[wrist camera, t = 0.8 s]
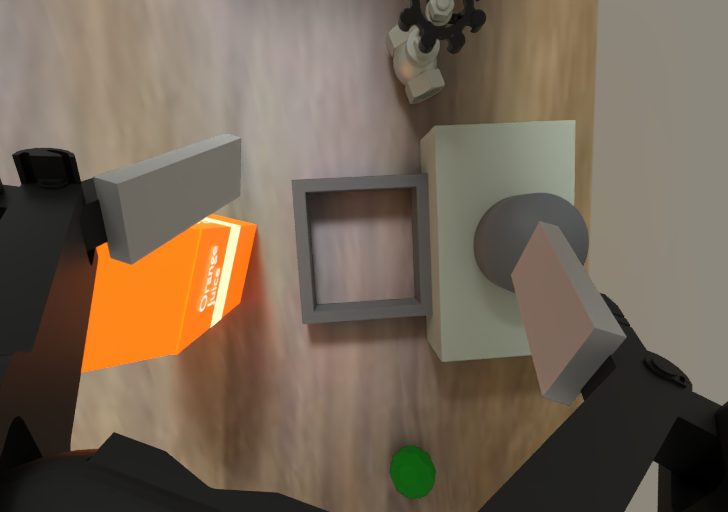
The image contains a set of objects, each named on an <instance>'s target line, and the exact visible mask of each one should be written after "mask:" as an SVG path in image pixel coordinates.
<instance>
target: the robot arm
mask: <svg viewBox="0 0 728 512" xmlns="http://www.w3.org/2000/svg"><path fill="white" fill-rule="evenodd" d="M12 156H13V159H14V162H15V165H16V168H17V171H18V174H19V177H20V181H21V186H20V187H17V186H9V185H2V182H1V179H0V512H328V511H326V510H323V509H320V508H318V507H315V506H312V505H309V504H307V503H304V502H301V501H299V500H296V499H293V498H290V497H288V496H285V495H282V494H280V493H274V492H257V491H240V490H223V489H214V488H211V487H209V486H207V485H206V484H205V483H203V482H202V481H201V480H200V479H198V478H197V477H196V476H195V475H194V474H192V473H191V472H190V471H189V470H188V469H186V468H185V467H184V466H183V465H181V464H180V463H179V462H178V461H177V460H175V459H174V458H173V457H172V456H171V455H169V454H168V453H167V452H166V451H163V450H161V449H158V448H155V447H152V446H150V445H147V444H144V443H142V442H139V441H136V440H134V439H131V438H128V437H125V436H123V435H120V434H117V433H115V432H114V433H113V434H112V435H111V436H110V437H109V438H108V439H107V440H106V441H105V443H104V444H103V445H102V446H101V447H100V448H99V449H88V450H75V451H70V443H71V434H72V428H73V421H74V415H75V408H76V402H77V395H78V389H79V382H80V376H81V369H82V363H83V356H84V350H85V343H86V337H87V330H88V324H89V317H90V311H91V304H92V298H93V291H94V285H95V278H96V272H97V265H98V259H99V257H98V253H97V249H96V247H98V246H100V245H102V244H104V243H106V242H107V245H108V250H109V255H110V258H111V259H114V260H118V261H121V262H124V263H127V264H130V265H132V264H134V263H136V262H137V261H139V260H140V259H142V258H143V257H145V256H147V255H148V254H150V253H151V252H153V251H154V250H156V249H158V248H159V247H161V246H162V245H164V244H165V243H167V242H168V241H170V240H172V239H173V238H175V237H176V236H178V235H179V234H181V233H183V232H184V231H186V230H187V229H189V228H190V227H192V226H193V225H195V224H197V223H198V222H200V221H201V220H203V219H204V218H206V217H208V216H209V215H211V214H212V213H214V212H215V211H217V210H219V209H220V208H222V207H223V206H225V205H226V204H228V203H229V202H231V201H233V200H234V199H236V198H237V197H239V196H240V178H241V138H240V137H236V136H233V135H229V134H222V135H219V136H216V137H213V138H210V139H207V140H204V141H201V142H198V143H194V144H191V145H188V146H185V147H182V148H179V149H176V150H173V151H170V152H167V153H164V154H161V155H158V156H155V157H152V158H149V159H146V160H142V161H139V162H136V163H133V164H130V165H127V166H124V167H121V168H118V169H115V170H112V171H109V172H106V173H103V174H100V175H97V176H94V177H93V178H91V179H88V180H85V181H82V182H81V180H80V176H79V172H78V167H77V163H76V159H75V155H74V154H73V153H71V152H69V151H66V150H62V149H54V148H33V149H25V150H21V151H18V152H16V153H14V154H13V155H12ZM511 277H512V281H513V285H514V289H515V293H516V297H517V301H518V304H519V308H520V312H521V316H522V320H523V324H524V328H525V332H526V335H527V339H528V343H529V347H530V351H531V355H532V359H533V363H534V366H535V370H536V374H537V378H538V382H539V386H540V390H541V393H542V397H543V398H547V399H550V400H553V401H556V402H559V403H562V404H565V405H568V406H570V404H571V403H572V402H573V401H574V400H575V398H576V397H577V396H578V395H579V394H580V392H581V393H582V396H583V399H584V402H583V403H582V404H581V405H580V406H579V407H578V408H577V409H576V410H575V411H574V412H573V413H572V414H571V415H570V417H569V418H568V419H567V420H566V421H565V422H564V423H563V424H562V425H561V426H560V427H559V428H558V429H557V430H556V431H555V432H554V433H553V434H552V435H551V436H550V437H549V438H548V439H547V440H546V441H545V442H544V443H543V444H542V446H541V447H540V448H539V449H538V450H537V451H536V452H535V453H534V454H533V455H532V456H531V457H530V458H529V459H528V460H527V461H526V462H525V463H524V464H523V465H522V466H521V467H520V468H519V469H518V470H517V471H516V472H515V473H514V475H513V476H512V477H511V478H510V479H509V480H508V481H507V482H506V483H505V484H504V485H503V486H502V487H501V488H500V489H499V490H498V491H497V492H496V493H495V494H494V495H493V496H492V497H491V498H490V499H489V500H488V501H487V502H486V504H485V505H484V506H483V507H482V508H481V509H480V510H479V511H478V512H624V511H625V510H626V507H627V506H628V504H629V502H630V501H631V499H632V497H633V495H634V493H635V492H636V490H637V488H638V486H639V485H640V483H641V481H642V479H643V478H644V476H645V474H646V472H647V470H648V468H649V467H650V465H651V463H652V461H655V462H656V463H658V464H659V469H658V471H659V472H658V512H728V402H726V403H725V404H724V405H723V406H721V405H718V404H717V403H715V402H713V401H711V400H709V399H707V398H705V397H703V396H701V395H698V394H696V393H694V392H692V384H691V382H690V380H689V379H688V377H687V376H686V375H685V374H684V373H683V372H682V371H681V370H680V369H679V368H678V367H677V366H675V365H674V364H673V363H671V362H670V361H668V360H667V359H665V358H663V357H661V356H659V355H657V354H655V353H652V352H650V351H647V350H646V348H645V347H644V345H643V344H642V342H641V341H640V340H639V338H638V336H637V335H636V333H635V332H634V330H633V329H632V328H631V327H630V324H629V323H628V321H627V319H626V318H624V315H623V313H622V312H621V310H620V309H619V307H618V306H617V305H616V304H615V303H614V302H613V301H612V300H611V299H609V298H608V297H607V296H606V295H605V294H602V293H599V291H598V290H597V288H596V287H595V285H594V283H593V282H592V280H591V278H590V277H589V275H588V273H587V272H586V270H585V269H584V267H583V265H582V264H581V262H580V261H579V259H578V257H577V256H576V254H575V252H574V251H573V249H572V248H571V246H570V244H569V243H568V241H567V239H566V238H565V236H564V235H563V233H562V231H561V230H560V228H559V226H556V225H552V224H549V223H545V222H542V221H539V223H538V225H537V227H536V228H535V230H534V232H533V234H532V236H531V238H530V240H529V242H528V244H527V246H526V248H525V249H524V251H523V253H522V255H521V257H520V259H519V261H518V263H517V265H516V267H515V268H514V270H513V272H512V274H511Z"/></svg>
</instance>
